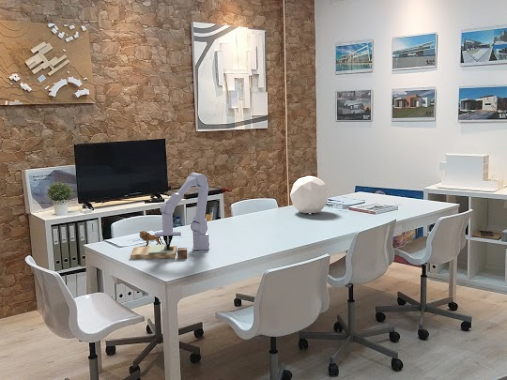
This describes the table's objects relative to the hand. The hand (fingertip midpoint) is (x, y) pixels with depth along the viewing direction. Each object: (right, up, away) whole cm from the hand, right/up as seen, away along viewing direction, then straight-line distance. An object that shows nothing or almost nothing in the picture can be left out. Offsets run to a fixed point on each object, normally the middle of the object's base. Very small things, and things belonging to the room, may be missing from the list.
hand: (168, 248), depth 314 cm
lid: (-6, 0, 0) cm, 6 cm away
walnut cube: (+9, -4, -6) cm, 11 cm away
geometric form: (+90, +15, +114) cm, 146 cm away
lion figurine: (-13, 0, +20) cm, 24 cm away
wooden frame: (-8, -3, 0) cm, 8 cm away
